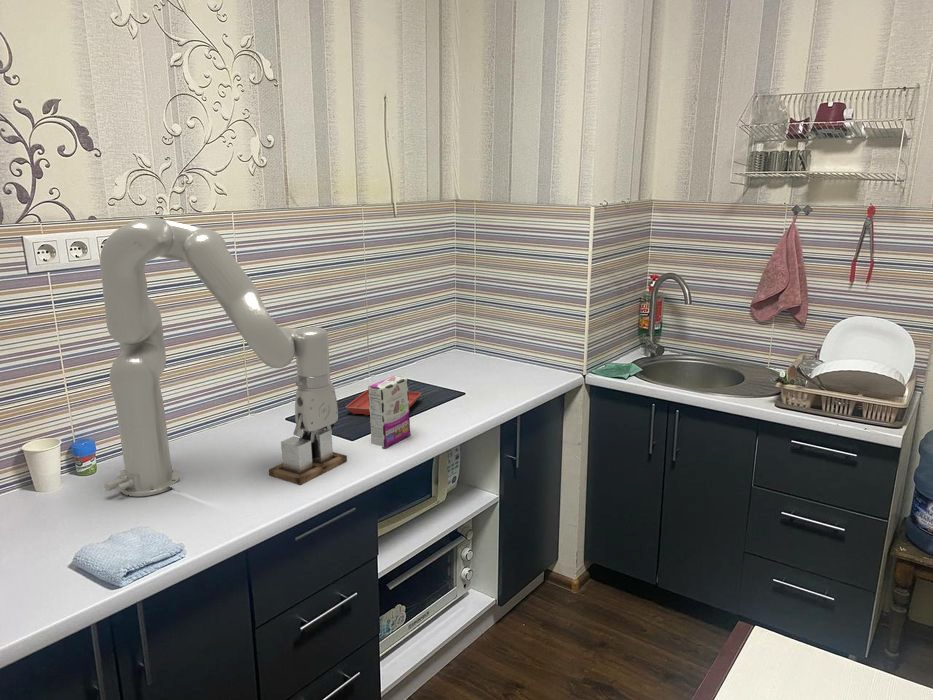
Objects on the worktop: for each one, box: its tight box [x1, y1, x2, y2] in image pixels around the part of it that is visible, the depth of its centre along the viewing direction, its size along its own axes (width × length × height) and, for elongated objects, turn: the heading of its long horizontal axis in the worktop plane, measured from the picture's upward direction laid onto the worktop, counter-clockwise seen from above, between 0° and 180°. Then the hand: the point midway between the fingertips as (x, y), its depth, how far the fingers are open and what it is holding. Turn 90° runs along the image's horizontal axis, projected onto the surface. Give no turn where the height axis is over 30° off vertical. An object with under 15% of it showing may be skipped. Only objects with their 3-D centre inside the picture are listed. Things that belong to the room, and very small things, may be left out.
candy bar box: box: [367, 375, 411, 449], centre depth 180 cm, size 11×5×16 cm, turn 148°
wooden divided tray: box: [268, 451, 348, 486], centre depth 162 cm, size 16×10×2 cm, turn 148°
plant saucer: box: [345, 389, 422, 416], centre depth 207 cm, size 18×18×3 cm
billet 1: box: [280, 435, 313, 475], centre depth 158 cm, size 4×6×8 cm
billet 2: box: [308, 428, 334, 464], centre depth 164 cm, size 4×6×8 cm
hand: (318, 452), depth 164 cm, fingers closed on billet 2, 3 cm apart
